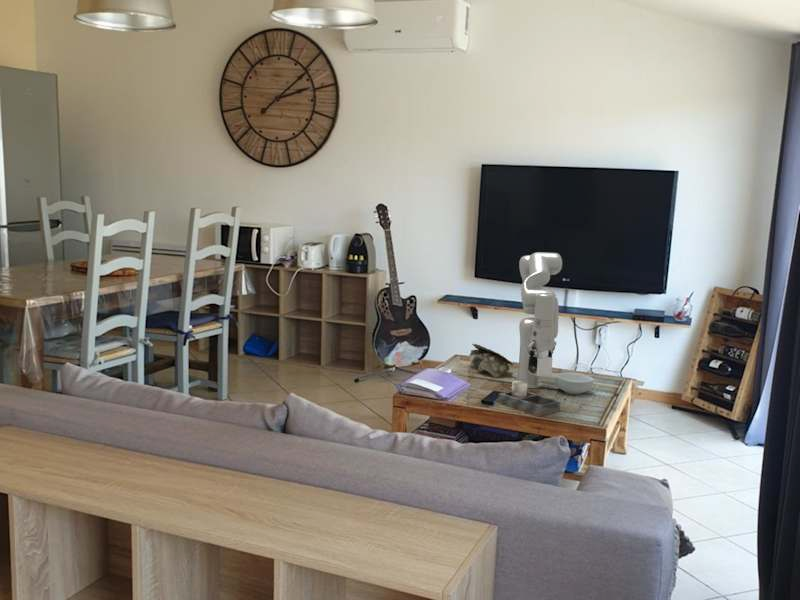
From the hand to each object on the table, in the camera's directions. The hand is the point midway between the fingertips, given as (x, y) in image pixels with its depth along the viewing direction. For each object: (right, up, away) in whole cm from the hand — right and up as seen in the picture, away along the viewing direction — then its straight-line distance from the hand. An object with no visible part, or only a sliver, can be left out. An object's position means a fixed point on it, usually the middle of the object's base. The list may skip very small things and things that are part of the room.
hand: (540, 364), depth 330 cm
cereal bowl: (+20, -15, +32) cm, 41 cm away
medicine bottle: (0, -4, +1) cm, 4 cm away
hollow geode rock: (-14, -9, +64) cm, 66 cm away
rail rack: (-4, -18, +7) cm, 20 cm away
